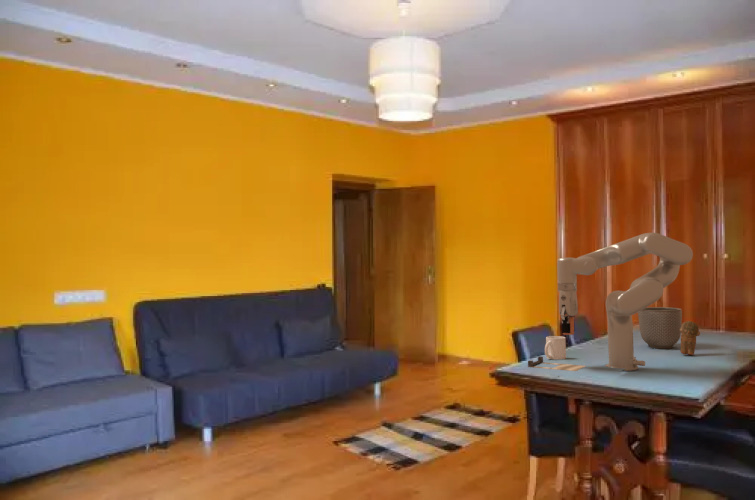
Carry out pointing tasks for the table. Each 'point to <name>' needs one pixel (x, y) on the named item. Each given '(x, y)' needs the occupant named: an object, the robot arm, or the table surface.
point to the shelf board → (560, 367)
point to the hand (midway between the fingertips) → (568, 331)
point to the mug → (555, 347)
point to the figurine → (688, 337)
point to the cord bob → (571, 326)
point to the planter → (660, 326)
